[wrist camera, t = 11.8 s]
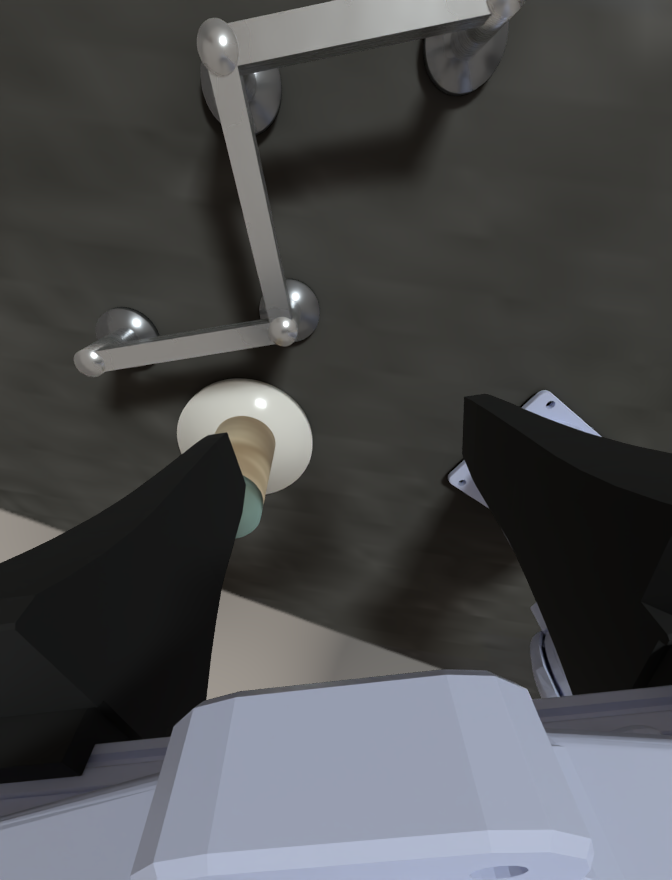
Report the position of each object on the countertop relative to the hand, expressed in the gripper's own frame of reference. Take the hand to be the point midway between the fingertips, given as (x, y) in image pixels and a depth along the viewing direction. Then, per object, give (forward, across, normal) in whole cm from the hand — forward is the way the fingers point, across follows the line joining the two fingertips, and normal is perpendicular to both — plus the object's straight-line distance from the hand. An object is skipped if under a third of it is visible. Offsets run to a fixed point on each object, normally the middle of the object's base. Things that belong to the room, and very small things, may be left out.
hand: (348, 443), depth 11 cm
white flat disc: (+10, +6, +5) cm, 13 cm away
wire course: (+10, +1, -6) cm, 12 cm away
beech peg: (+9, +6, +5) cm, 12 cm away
